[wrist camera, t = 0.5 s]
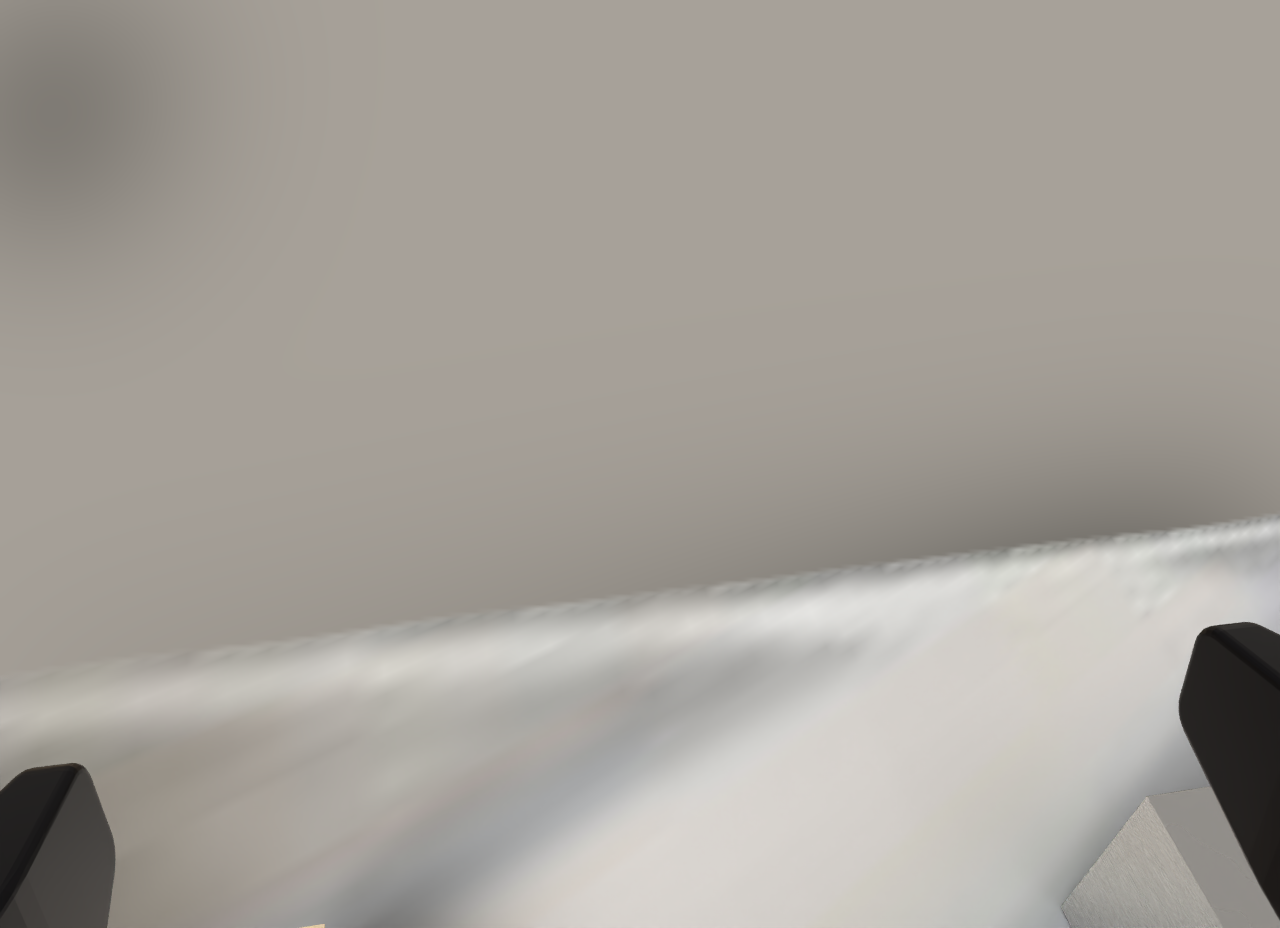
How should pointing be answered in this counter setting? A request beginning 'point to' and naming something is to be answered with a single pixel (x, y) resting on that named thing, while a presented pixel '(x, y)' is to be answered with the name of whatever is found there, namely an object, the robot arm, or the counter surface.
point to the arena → (316, 926)
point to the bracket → (1172, 872)
